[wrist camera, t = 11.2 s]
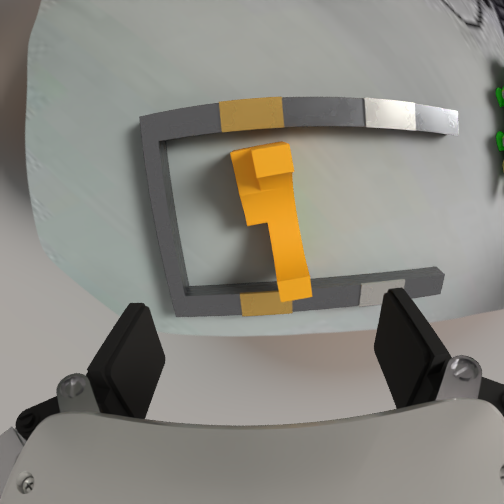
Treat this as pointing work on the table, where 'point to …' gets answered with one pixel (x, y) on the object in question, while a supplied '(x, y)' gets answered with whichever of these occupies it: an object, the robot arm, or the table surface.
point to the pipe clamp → (274, 211)
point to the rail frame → (261, 117)
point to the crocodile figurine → (501, 138)
